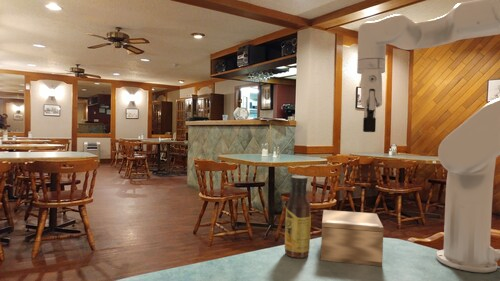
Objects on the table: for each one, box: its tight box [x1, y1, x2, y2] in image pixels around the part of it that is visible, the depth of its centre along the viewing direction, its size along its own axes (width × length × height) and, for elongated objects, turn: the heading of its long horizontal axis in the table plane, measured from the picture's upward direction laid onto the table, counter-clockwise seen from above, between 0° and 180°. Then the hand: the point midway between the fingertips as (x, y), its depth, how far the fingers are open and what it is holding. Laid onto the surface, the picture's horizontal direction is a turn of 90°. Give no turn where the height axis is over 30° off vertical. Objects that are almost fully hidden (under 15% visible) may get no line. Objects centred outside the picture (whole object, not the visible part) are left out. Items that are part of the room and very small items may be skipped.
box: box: [320, 226, 384, 267], centre depth 91 cm, size 14×14×8 cm
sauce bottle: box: [284, 175, 312, 259], centre depth 89 cm, size 6×6×20 cm
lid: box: [321, 209, 384, 233], centre depth 90 cm, size 14×14×1 cm
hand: (369, 131), depth 101 cm, fingers closed
